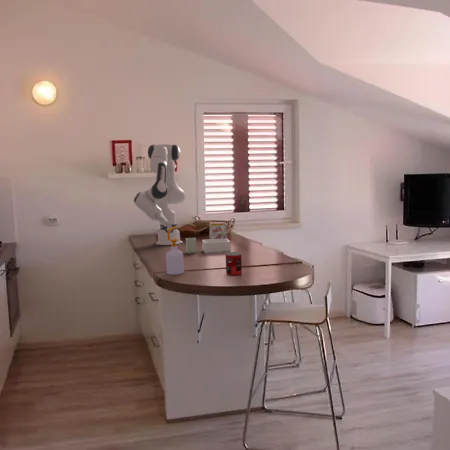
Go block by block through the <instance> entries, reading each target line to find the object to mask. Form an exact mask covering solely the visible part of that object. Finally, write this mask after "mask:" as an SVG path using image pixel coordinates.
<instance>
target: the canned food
mask: <svg viewBox="0 0 450 450" xmlns="http://www.w3.org/2000/svg"><path fill="white" fill-rule="evenodd" d="M242 265H243V264H242V252H238V251H231V252H228V253H225V268H226V269H225V272H226V273H225V274H226V275H227V276H230V277H236V276H241V275H242V273H243V272H242V270H243V267H242Z"/></svg>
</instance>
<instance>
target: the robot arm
mask: <svg viewBox="0 0 450 450" xmlns="http://www.w3.org/2000/svg"><path fill="white" fill-rule="evenodd" d="M147 149H148V150H147V156H148V159H150V161H149V169H150V171H152V173H154V174H156V177H155V183H154V184H152V186H151V187H150V188H148V189H147V190H144V191H139V192H138V193H136V195H135V197H134V198H133V203H134V205H135V206H136V207H137V208H138V209H139V210H141V211H142V212H143V213H145V215H146V216H147V217H148V218H149V219H150V220H151V221H154V220H155V221H158V222H159V223H160V224H159V225H160V226H159V228H160V231H158V234H157V240H158V241H156V245H161V246H171V245H173V244H172V242H171V241H170V240H168V233H167V231H168V229H169V228H172V227H175V226H176V227H177V228H175V229H173V230H171V231H170V239H178V240H179V241H177V242H176V245H179V244H183V243H184V242H183V241H182V240H181V235H180V233H181V232H180V231H179V230H178V223H177V214H176V211H175V210H173V209H171V208H169V207H168V205H178V204H180V203H183V202H184V201H185V199H186V192H185V191H184V190H183V189H182V188H181V187H180V186H179V185H178V183H177V179H176V167H175V164H176V163H175V162H176V161H178V160H179V159H180V156H181V148H180V146H178V144H169V143H161V144H151V145H149V146H148V148H147Z"/></svg>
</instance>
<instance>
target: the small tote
mask: <svg viewBox="0 0 450 450" xmlns="http://www.w3.org/2000/svg"><path fill="white" fill-rule="evenodd" d="M197 251H198V250H197V239H196V237H187V238H186V237H185V252H186V254H187V255H188V254H189V255H190V254H197Z"/></svg>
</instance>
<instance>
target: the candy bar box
mask: <svg viewBox="0 0 450 450" xmlns="http://www.w3.org/2000/svg"><path fill="white" fill-rule="evenodd" d="M208 229H209V230H208V232H209V233H208V234H209V239H225V238H227V222H224V221H223V222H222V221H221V222H219V221H218V222H213V221H212V222H211V221H210V222H209V224H208Z"/></svg>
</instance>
